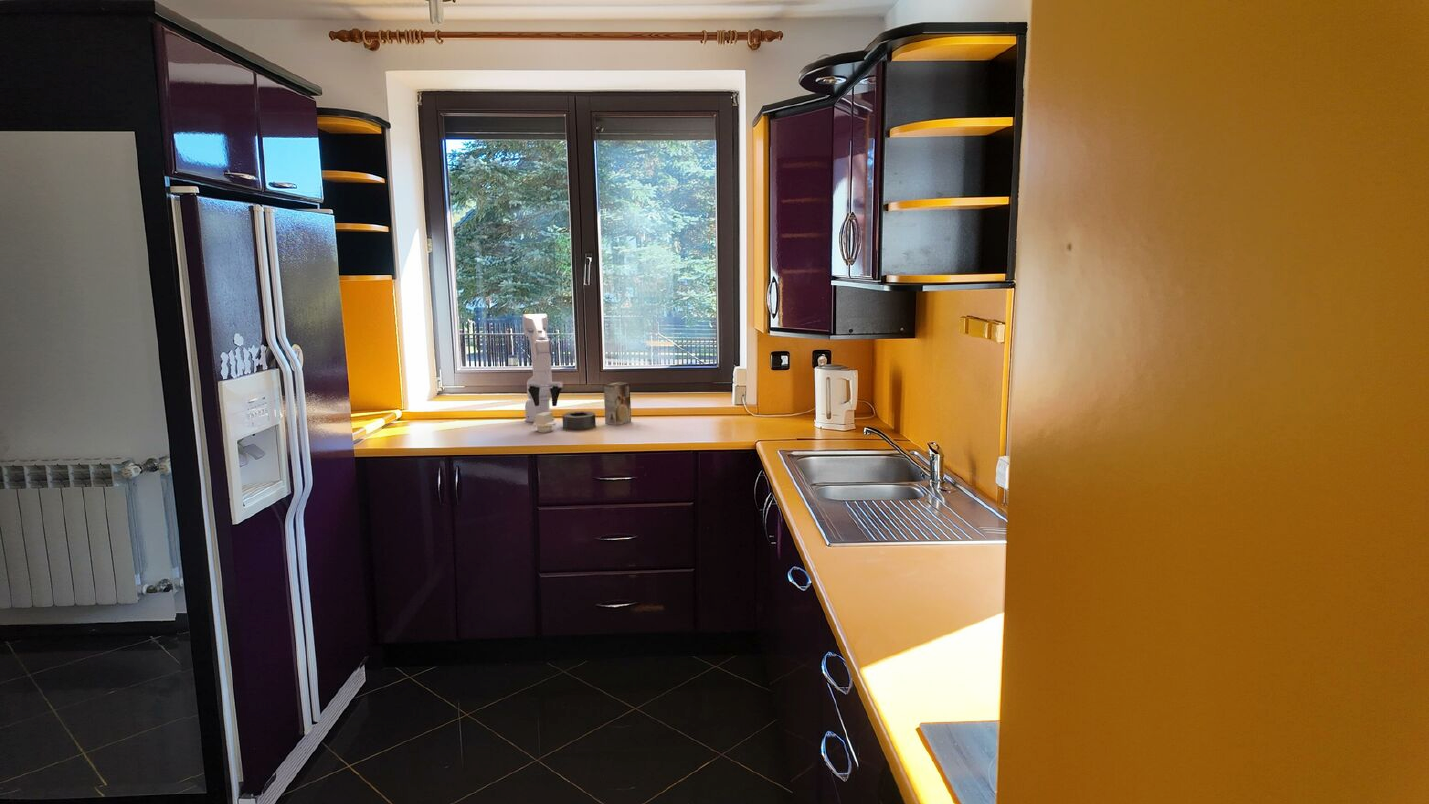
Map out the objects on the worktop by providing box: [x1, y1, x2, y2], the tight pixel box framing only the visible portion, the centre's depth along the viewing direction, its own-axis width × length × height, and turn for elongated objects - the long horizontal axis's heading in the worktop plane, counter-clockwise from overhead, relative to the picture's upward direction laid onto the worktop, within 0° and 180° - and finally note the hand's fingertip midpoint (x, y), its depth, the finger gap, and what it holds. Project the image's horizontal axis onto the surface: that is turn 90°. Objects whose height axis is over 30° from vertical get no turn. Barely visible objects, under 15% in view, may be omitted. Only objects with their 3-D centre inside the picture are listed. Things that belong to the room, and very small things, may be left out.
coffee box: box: [603, 381, 632, 426], centre depth 338 cm, size 9×6×16 cm
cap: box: [532, 412, 556, 433], centre depth 325 cm, size 8×8×7 cm
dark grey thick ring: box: [561, 410, 597, 431], centre depth 332 cm, size 13×13×5 cm
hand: (545, 405), depth 324 cm, fingers open, 7 cm apart
